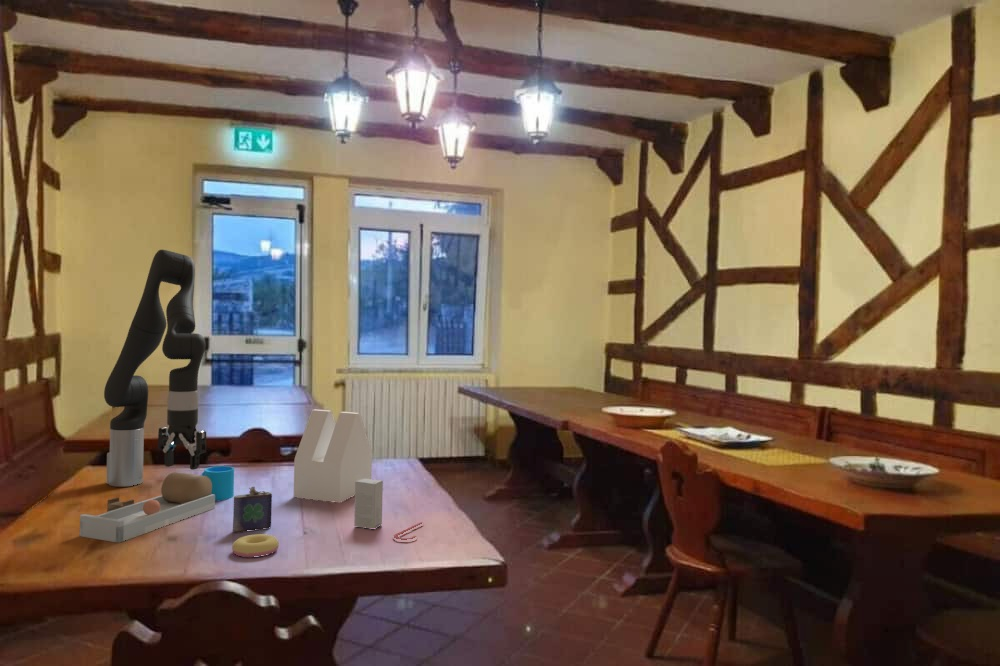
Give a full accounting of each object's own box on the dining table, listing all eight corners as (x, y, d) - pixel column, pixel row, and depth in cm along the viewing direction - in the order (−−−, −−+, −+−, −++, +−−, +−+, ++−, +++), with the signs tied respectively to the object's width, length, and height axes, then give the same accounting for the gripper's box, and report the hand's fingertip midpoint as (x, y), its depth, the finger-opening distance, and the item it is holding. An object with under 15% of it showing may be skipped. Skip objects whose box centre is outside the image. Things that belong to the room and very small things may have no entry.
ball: (149, 514, 183) (153, 498, 184) (162, 516, 182) (165, 500, 183) (138, 514, 179) (141, 498, 180) (150, 516, 178) (153, 500, 179)
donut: (233, 558, 164) (235, 565, 155) (230, 538, 164) (232, 544, 155) (277, 546, 168) (282, 553, 159) (274, 527, 168) (278, 533, 159)
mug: (239, 496, 208) (240, 468, 208) (216, 502, 201) (216, 473, 201) (212, 490, 214) (213, 463, 214) (188, 495, 207) (189, 467, 207)
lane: (79, 536, 168) (80, 496, 168) (179, 503, 198) (180, 469, 198) (119, 542, 164) (119, 501, 164) (214, 508, 195) (215, 473, 194)
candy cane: (439, 530, 184) (439, 525, 184) (408, 546, 170) (409, 540, 170) (419, 526, 186) (419, 521, 186) (387, 542, 173) (388, 536, 173)
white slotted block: (339, 503, 204) (341, 417, 203) (293, 497, 209) (295, 413, 208) (371, 488, 222) (373, 409, 222) (328, 483, 227) (330, 406, 226)
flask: (233, 533, 174) (234, 490, 173) (231, 530, 176) (232, 487, 176) (272, 529, 178) (273, 486, 178) (269, 525, 181) (270, 484, 181)
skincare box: (382, 526, 184) (383, 480, 184) (374, 530, 180) (375, 483, 180) (361, 523, 186) (363, 477, 186) (353, 527, 182) (354, 481, 181)
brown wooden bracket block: (107, 512, 187) (107, 499, 187) (116, 509, 190) (116, 497, 190) (124, 515, 185) (125, 502, 185) (134, 512, 188) (134, 499, 188)
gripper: (214, 407, 191) (213, 467, 192) (171, 403, 196) (170, 462, 196) (194, 411, 184) (193, 473, 185) (150, 407, 188) (149, 467, 189)
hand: (181, 467), depth 190 cm, fingers open, 8 cm apart
